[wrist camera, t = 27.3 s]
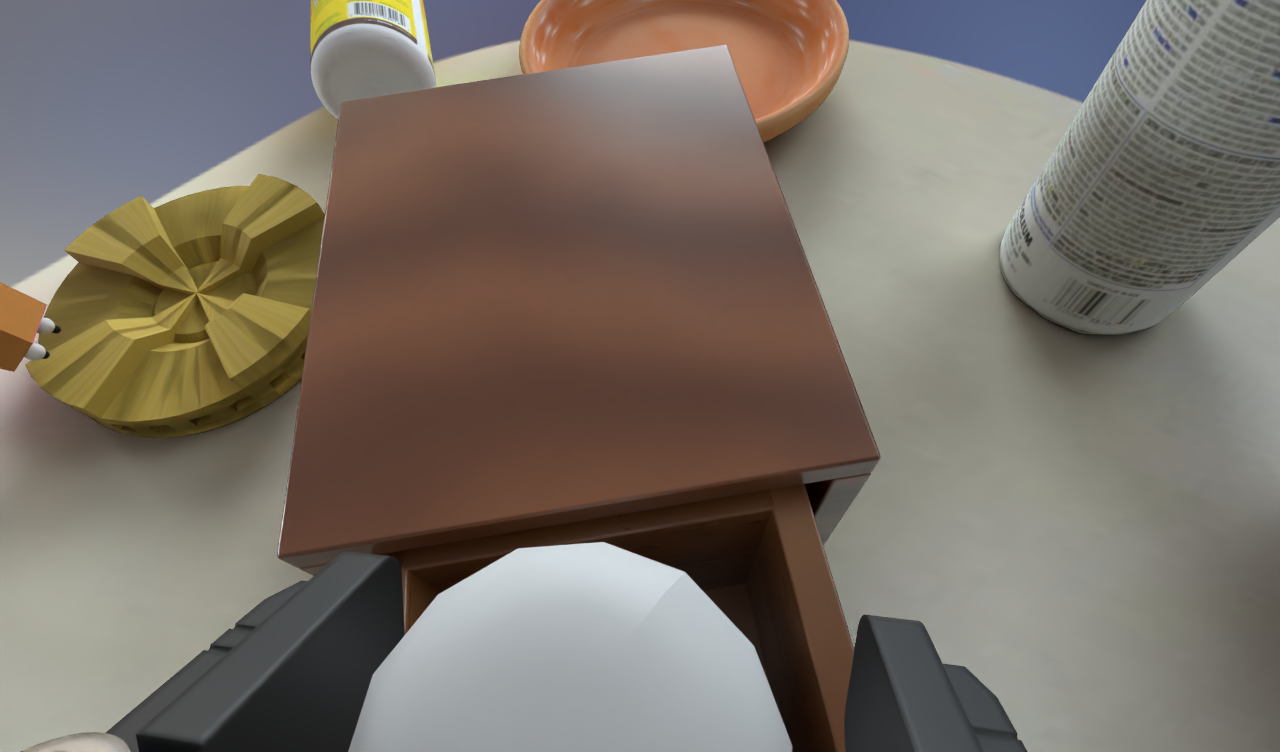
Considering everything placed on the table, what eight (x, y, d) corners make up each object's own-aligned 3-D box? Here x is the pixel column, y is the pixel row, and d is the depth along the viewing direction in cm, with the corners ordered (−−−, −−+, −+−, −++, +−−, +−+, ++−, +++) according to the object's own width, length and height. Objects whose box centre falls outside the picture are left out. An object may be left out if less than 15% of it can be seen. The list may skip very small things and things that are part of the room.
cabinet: (803, 577, 20) (883, 457, 12) (441, 639, 20) (274, 559, 12) (714, 257, 27) (727, 43, 19) (444, 299, 27) (339, 100, 19)
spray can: (1214, 303, 25) (2414, -717, 8) (1073, 369, 24) (2104, -648, 7) (1086, 193, 28) (1726, -699, 11) (957, 247, 27) (1440, -649, 10)
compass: (325, 372, 23) (351, 401, 25) (336, 151, 29) (357, 187, 31) (-23, 443, 22) (32, 467, 24) (64, 201, 28) (102, 235, 30)
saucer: (905, 86, 32) (923, 28, 30) (655, 244, 28) (651, 191, 25) (700, -32, 39) (700, -88, 37) (476, 78, 35) (459, 25, 33)
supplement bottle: (378, 160, 33) (371, 50, 38) (462, 100, 32) (442, -7, 37) (280, 80, 29) (287, -33, 34) (372, 5, 27) (364, -101, 32)
